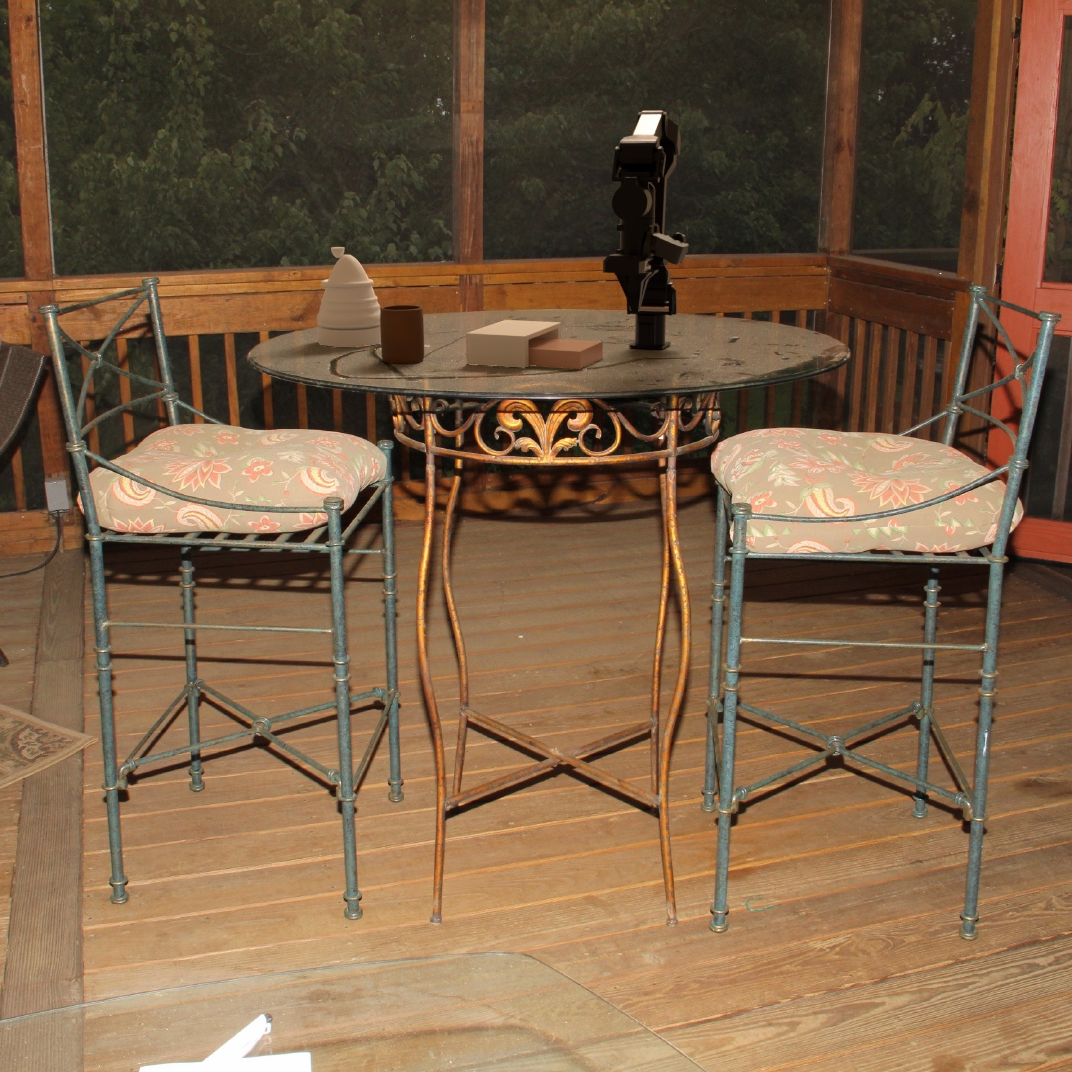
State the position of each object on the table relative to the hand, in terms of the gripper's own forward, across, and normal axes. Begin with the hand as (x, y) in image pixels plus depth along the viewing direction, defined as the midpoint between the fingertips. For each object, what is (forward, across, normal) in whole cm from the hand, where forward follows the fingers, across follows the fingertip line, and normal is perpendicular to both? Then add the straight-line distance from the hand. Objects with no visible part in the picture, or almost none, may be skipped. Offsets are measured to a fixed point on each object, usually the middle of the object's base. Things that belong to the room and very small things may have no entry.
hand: (635, 312), depth 216 cm
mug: (+10, -7, +41) cm, 43 cm away
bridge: (+9, 0, +22) cm, 24 cm away
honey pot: (+10, +7, +60) cm, 61 cm away
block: (+10, 0, +17) cm, 20 cm away
